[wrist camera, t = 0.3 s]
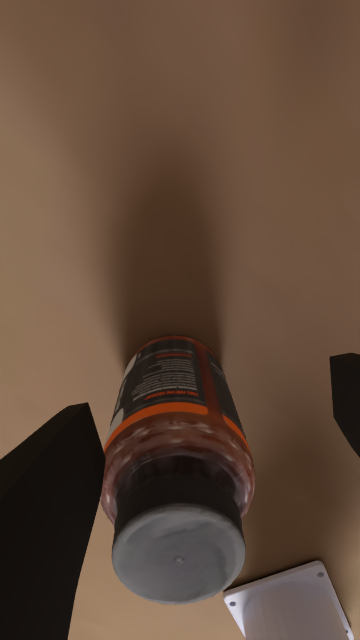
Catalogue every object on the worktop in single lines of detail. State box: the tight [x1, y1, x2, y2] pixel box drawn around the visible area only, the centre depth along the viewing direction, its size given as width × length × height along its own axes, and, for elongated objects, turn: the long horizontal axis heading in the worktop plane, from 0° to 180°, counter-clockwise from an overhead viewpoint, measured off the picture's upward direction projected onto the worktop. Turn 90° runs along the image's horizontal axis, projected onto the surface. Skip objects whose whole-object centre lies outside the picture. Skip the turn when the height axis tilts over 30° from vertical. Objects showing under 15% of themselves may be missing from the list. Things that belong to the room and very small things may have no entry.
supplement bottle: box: [100, 336, 255, 605], centre depth 15 cm, size 6×6×11 cm
